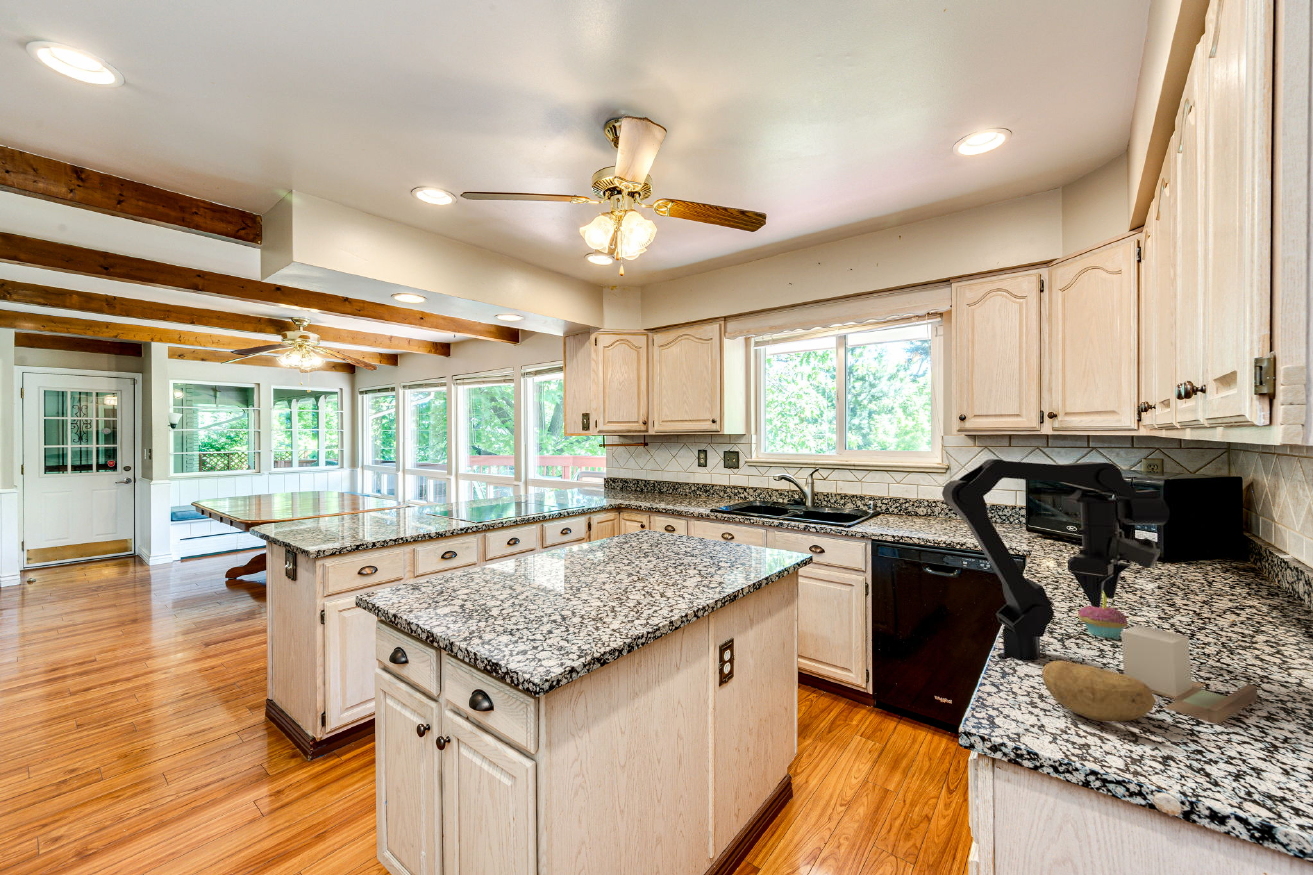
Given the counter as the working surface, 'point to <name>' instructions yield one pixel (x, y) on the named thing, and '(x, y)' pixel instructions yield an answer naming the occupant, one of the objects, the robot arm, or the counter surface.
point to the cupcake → (1103, 620)
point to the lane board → (1211, 702)
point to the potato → (1097, 692)
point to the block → (1157, 659)
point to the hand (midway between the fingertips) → (1103, 602)
